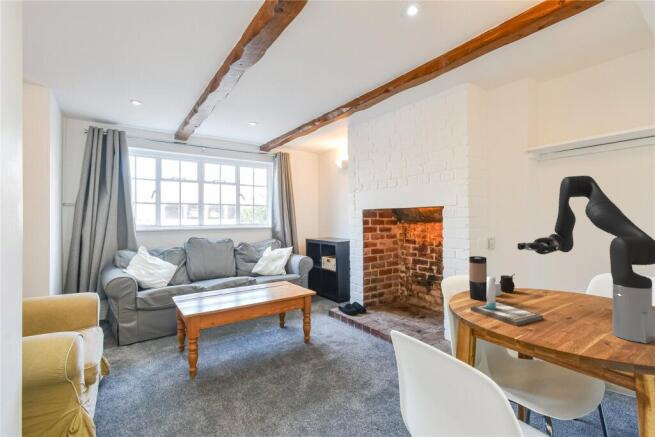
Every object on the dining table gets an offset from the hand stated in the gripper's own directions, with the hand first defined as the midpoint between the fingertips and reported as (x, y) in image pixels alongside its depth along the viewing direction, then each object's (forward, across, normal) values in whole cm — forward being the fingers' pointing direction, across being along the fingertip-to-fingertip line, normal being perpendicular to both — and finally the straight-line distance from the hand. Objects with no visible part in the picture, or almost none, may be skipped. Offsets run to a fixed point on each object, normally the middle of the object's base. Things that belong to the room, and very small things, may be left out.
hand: (529, 248), depth 131 cm
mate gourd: (-20, -19, +26) cm, 38 cm away
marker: (+19, -7, +24) cm, 32 cm away
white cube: (-9, -21, +26) cm, 35 cm away
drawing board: (+17, -2, +26) cm, 31 cm away
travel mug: (+4, -21, +26) cm, 34 cm away
